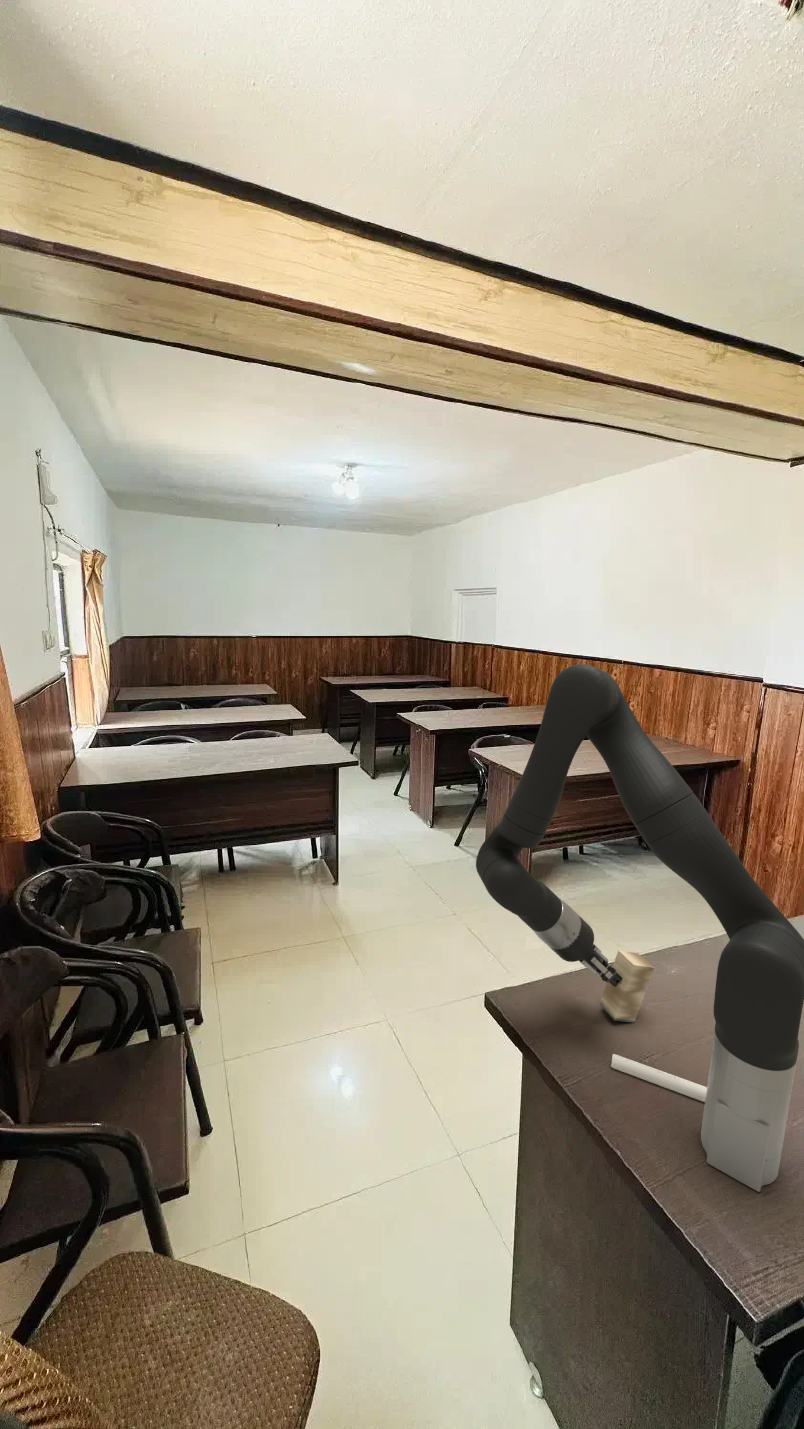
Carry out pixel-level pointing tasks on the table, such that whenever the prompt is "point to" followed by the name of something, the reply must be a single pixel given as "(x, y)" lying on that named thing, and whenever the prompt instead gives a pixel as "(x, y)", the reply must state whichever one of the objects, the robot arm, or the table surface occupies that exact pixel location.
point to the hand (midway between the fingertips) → (616, 980)
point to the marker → (659, 1077)
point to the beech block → (627, 987)
